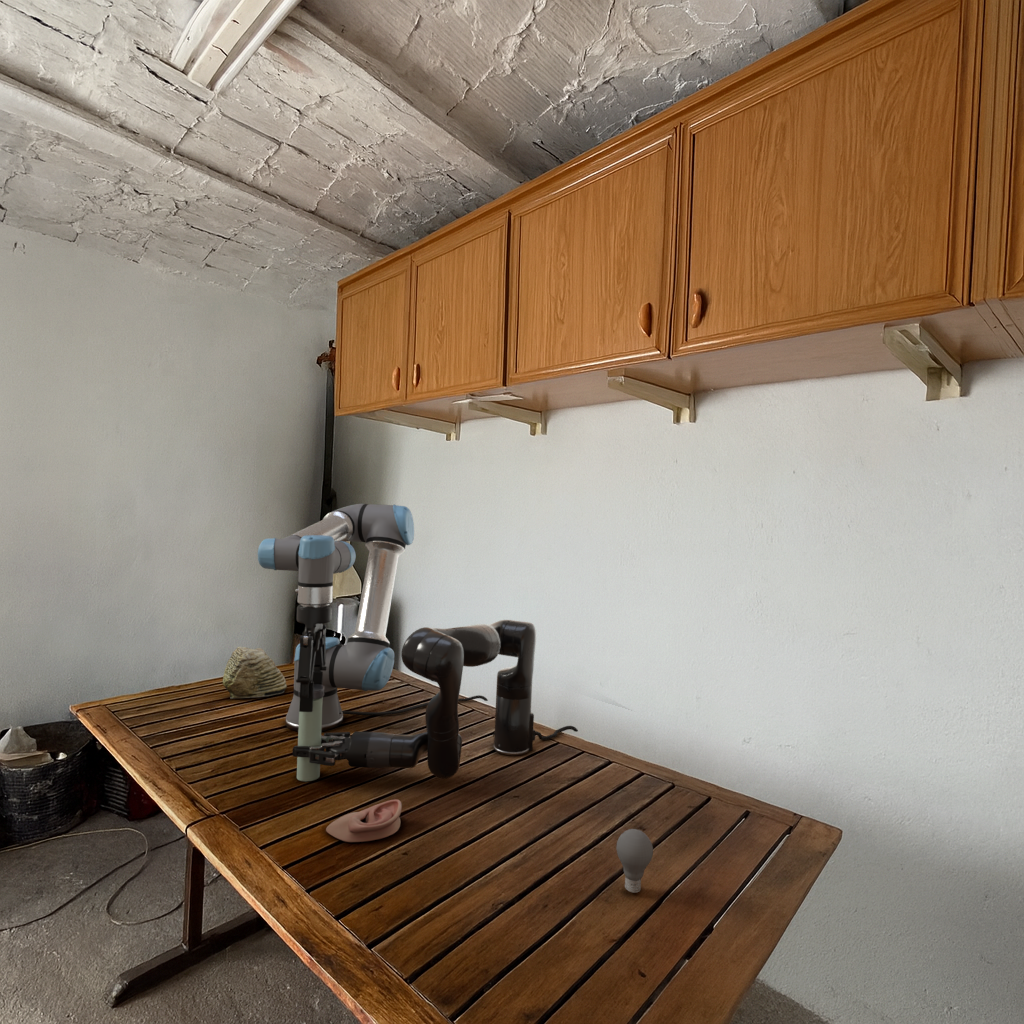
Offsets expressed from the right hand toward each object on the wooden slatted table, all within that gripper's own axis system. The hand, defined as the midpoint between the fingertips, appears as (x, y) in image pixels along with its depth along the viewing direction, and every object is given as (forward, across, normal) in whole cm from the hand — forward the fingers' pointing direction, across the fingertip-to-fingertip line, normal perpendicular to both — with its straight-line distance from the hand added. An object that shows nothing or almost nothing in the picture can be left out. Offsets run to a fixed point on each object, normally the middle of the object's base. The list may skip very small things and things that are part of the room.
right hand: (297, 746), depth 143 cm
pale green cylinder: (-3, 0, +7) cm, 7 cm away
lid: (-3, 0, -13) cm, 13 cm away
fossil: (+32, -55, +7) cm, 64 cm away
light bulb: (-69, +37, +7) cm, 79 cm away
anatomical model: (-20, +21, +7) cm, 30 cm away
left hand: (-3, 0, -9) cm, 10 cm away
